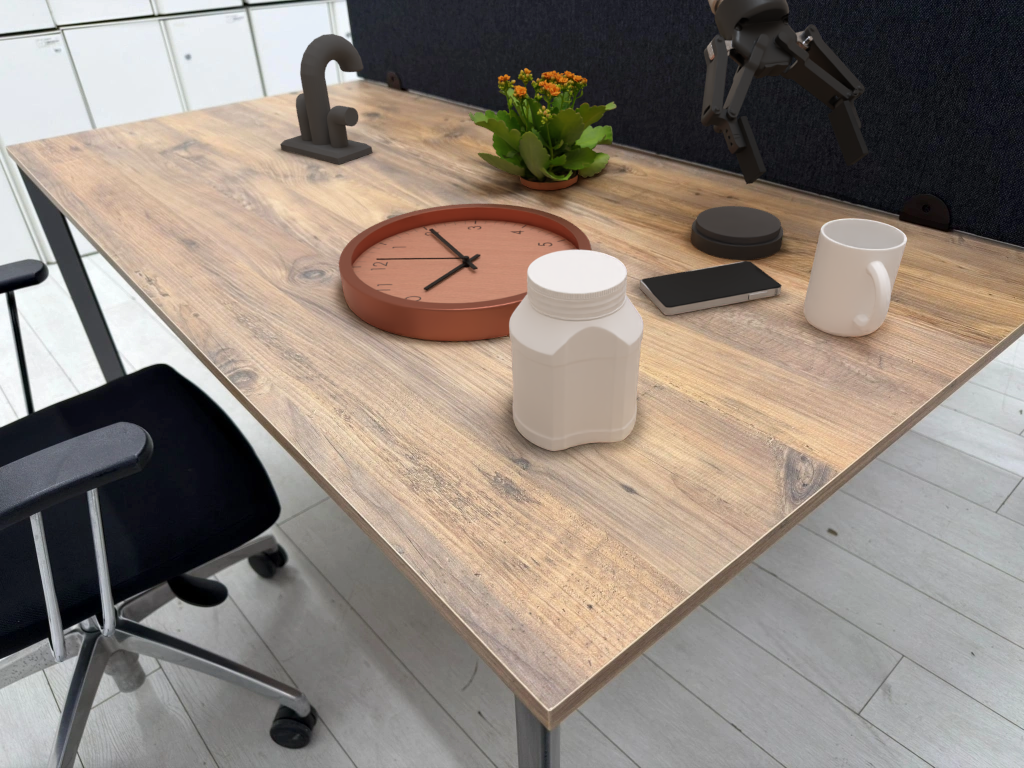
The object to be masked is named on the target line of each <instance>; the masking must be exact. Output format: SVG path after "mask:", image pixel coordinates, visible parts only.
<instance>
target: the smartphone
mask: <svg viewBox="0 0 1024 768" xmlns="http://www.w3.org/2000/svg"><path fill="white" fill-rule="evenodd" d="M782 288H783V287H782V284H781V283H780V282H778V281H777V280H776V279H774V278H773V277H772V276H771V275H769V274H767V273H766V272H765V271H764V270H762V269H761V268H760V267H758V266H757V265H756V264H755V263H753V262H752V261H751V260H741V261H737V262H730V263H726V264H721V265H714V266H708V267H702V268H697V269H692V270H685V271H681V272H675V273H670V274H663V275H657V276H652V277H646V278H642V279H640V280H639V289H640V290H641V291H642V292H643V293H644V294H645V295H646V296H647V298H649V299H650V301H651V302H652V303H653V304H654V305H655V306H656V307H657V308H658V309H659V310H660V311H661V313H662V314H664V315H665V316H672V315H679V314H683V313H689V312H695V311H700V310H706V309H710V308H711V309H712V308H716V307H721V306H726V305H732V304H737V303H742V302H748V301H754V300H758V299H763V298H768V297H769V298H770V297H774V296H779V295H780V294H781V291H782Z"/></svg>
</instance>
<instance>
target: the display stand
mask: <svg viewBox="0 0 1024 768" xmlns="http://www.w3.org/2000/svg"><path fill="white" fill-rule="evenodd" d="M689 238H690V243H691V245H692V246H693V247H694V248H695V249H697V251H700V252H701V253H704V254H706V255H709V256H711V257H715V258H720V259H724V260H725V259H726V260H732V261H753V260H761V259H765V258H768V257H771V256H774V255H775V254H777V253H778V252H779V251H780V250H781V247H782V243H783V238H784V227H782V223H781V220H780V218H778V217H777V216H775V215H774V214H772V213H771V212H768V211H765V210H763V209H759V208H755V207H749V206H740V205H725V206H715V207H712V208H707V209H705V210H703V211H701V212H700V213H699V214H698V215H697V216H696V219H694V221H693V222H692V223H691V230H690V237H689Z"/></svg>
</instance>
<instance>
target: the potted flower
mask: <svg viewBox="0 0 1024 768" xmlns="http://www.w3.org/2000/svg"><path fill="white" fill-rule="evenodd" d="M497 79H498V81H497V84H498V85H497V87H498V89H499V90H498V93H500V94H502V95H504V96H505V97H506V101H507V109H508V111H509V112H508V111H506V110H505V109H504V110H502V109H500V110H498V111H497V112H496V113H495V111H493V110H492V109H487V110H485V111H484V113H483V112H482V111H476V112H475V113H474V114H473V113H472V112H471V111H469V113H468V116H469V118H470V120H471V121H472V122H473V123H474V125H475V126H478V127H481V128H484V129H486V130H488V131H489V132H492V133H493V135H492V142H493V143H492V148H493V149H494V150H495V154H496V155H493V154H491V153H488V152H477V155H478V156H479V157H480V158H481V160H483V161H485V162H486V163H488V165H491V166H492V167H494V168H496V169H497V170H500V171H502V172H505V173H508V174H510V175H513V176H518V177H519V180H520V184H521V185H522V186H524V187H527V188H529V189H531V190H537V191H557V190H562V189H566V188H568V187H571V186H572V185H574V184H576V183H577V181H578V176H582V178H584V179H586V178H587V177H589V178H590V177H594V176H595V174H599V173H601V172H602V170H603V169H605V168H606V166H607V165H608V163H609V160H610V159H611V156H610V155H609V154H608V153H606V152H603V151H602V152H601V151H599V152H597V151H595V150H594V149H596V147H597V146H599V145H602V146H603V145H606V146H611V145H613V141H614V138H613V128H612V126H611V125H604V126H602V125H598V126H594V127H593V126H592V124H595V123H597V122H599V121H600V120H601V119H602V118H603V117H604V115H605V113H606V112H608V111H612V110H615V109H616V108H617V104H616V103H615V101H611V102H609V103H607V104H606V105H604V104H603V105H601V104H600V105H596V104H595V105H594V104H593V105H592V106H590V104H589V103H588V102H583V103H581V104H580V105H579V107H575V103H576V101H577V99H580V98H581V97H582V96H583V95H584V91H583V90H584V88H585V87H587V86H588V84H587V83H588V79H587V78H586V77H582V75H575V73H572V72H571V71H568V70H565V71H564V73H562V72H561V73H560V72H557V71H556V70H552V71H546V72H543V73H541V77H540V78H539V77H537V78H536V80H533V79H534V77H533V73H532V70H530V69H528V68H527V67H525V68H524V69H523V70H522V69H521V70H520V72H519V74H518V77H517V79H518V80H519V81H521V82H522V83H523V85H524V86H521V85H519V84H518V85H514V84H515V83H516V80H515V79H511V75H508V74H504V75H500V76H498V77H497ZM510 79H511V81H510ZM529 82H531V87H532V89H533V90H534V97H533V98H532V97H530V96H529V94H528V89H527V85H528V84H529ZM579 92H580V95H579V96H577V95H578V94H579ZM542 99H543V100H544V101H545V103H547V105H546V106H547V107H546V106H545V105H542V103H540V102H541V101H542ZM513 107H514V108H515V110H516V111H515V110H514V109H513ZM574 107H575V109H574Z"/></svg>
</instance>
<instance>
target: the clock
mask: <svg viewBox="0 0 1024 768" xmlns="http://www.w3.org/2000/svg"><path fill="white" fill-rule="evenodd" d="M564 250H590V251H592V245H591V242H590V240H589V238H588V236H587V235H586V233H584V230H583V231H582V229H580V227H578V226H577V225H575V224H574V223H572V222H571V221H569V220H567V219H565V218H563V217H561V216H559V215H556V214H553V213H551V212H547V211H544V210H542V209H541V210H540V209H537V208H532V207H527V206H520V205H513V204H503V203H479V202H478V203H457V204H449V205H447V204H445V205H439V206H433V207H428V208H423V209H417V210H414V211H410V212H409V211H408V212H405V213H402V214H399V215H396V216H392V217H390V218H387V219H385V220H381V221H379V222H377V223H375V224H373V225H371V226H369V227H368V228H366V229H364V230H362V231H360V233H358V234H357V235H356V236H354V237H353V238H352V239H351V240H350V241H349V242H348V243H347V244H346V245H345V247H344V248H343V249H342V251H341V253H340V256H339V258H338V259H339V260H338V270H339V275H340V280H341V286H342V291H343V296H344V300H345V303H346V304H347V306H348V307H349V309H350V311H352V313H354V315H356V317H358V318H359V319H360V320H362V321H364V322H365V323H367V324H369V325H370V326H372V327H374V328H376V329H379V330H382V331H384V332H388V333H390V334H394V335H398V336H400V337H405V338H411V339H418V340H424V341H425V340H426V341H435V342H436V341H438V342H469V341H470V342H471V341H472V342H473V341H481V340H490V339H497V338H503V337H507V336H510V333H509V321H510V318H511V315H512V314H513V312H514V311H515V309H516V308H517V307H518V305H519V304H520V303H521V301H522V300H523V299H524V297H525V296H526V295H527V290H528V289H527V284H528V283H527V270H528V267H529V266H530V264H531V263H532V262H533V261H534V260H536V259H537V258H539V257H541V256H544V255H546V254H549V253H553V252H557V251H564Z"/></svg>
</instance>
